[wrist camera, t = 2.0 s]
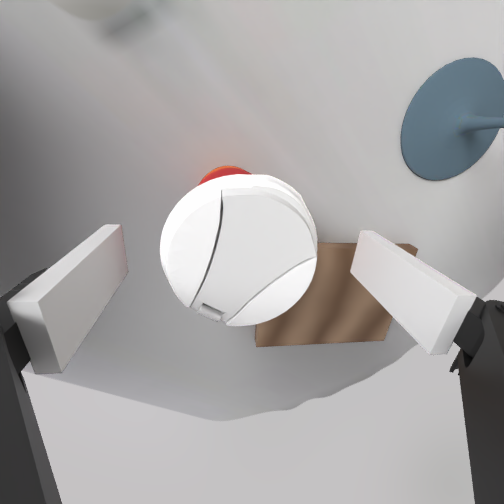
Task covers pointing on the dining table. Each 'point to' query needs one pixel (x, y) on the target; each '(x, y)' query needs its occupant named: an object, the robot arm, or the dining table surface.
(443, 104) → the cocktail glass
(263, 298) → the coffee cup
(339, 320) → the walnut board
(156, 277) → the dining table surface
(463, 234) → the dining table surface
